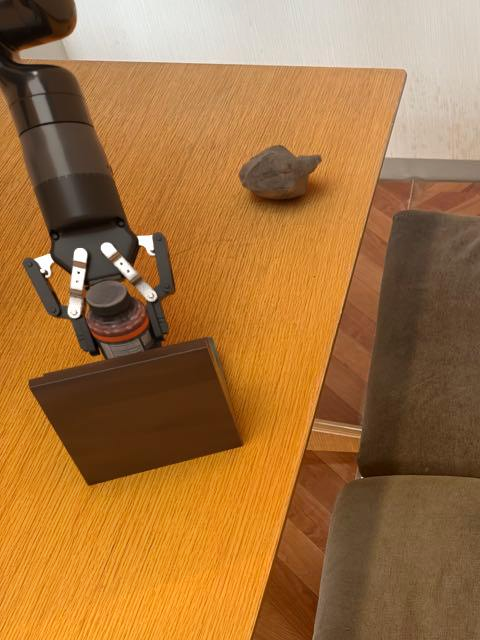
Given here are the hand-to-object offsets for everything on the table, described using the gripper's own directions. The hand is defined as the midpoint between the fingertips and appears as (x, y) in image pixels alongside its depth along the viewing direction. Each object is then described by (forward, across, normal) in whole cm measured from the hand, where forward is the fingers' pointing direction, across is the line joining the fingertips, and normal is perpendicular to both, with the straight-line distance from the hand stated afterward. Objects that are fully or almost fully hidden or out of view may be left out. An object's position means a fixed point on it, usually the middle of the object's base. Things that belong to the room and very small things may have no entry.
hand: (129, 347), depth 93 cm
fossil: (-18, +22, +31) cm, 42 cm away
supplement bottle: (+3, 0, +5) cm, 6 cm away
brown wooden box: (+7, 0, +5) cm, 9 cm away
